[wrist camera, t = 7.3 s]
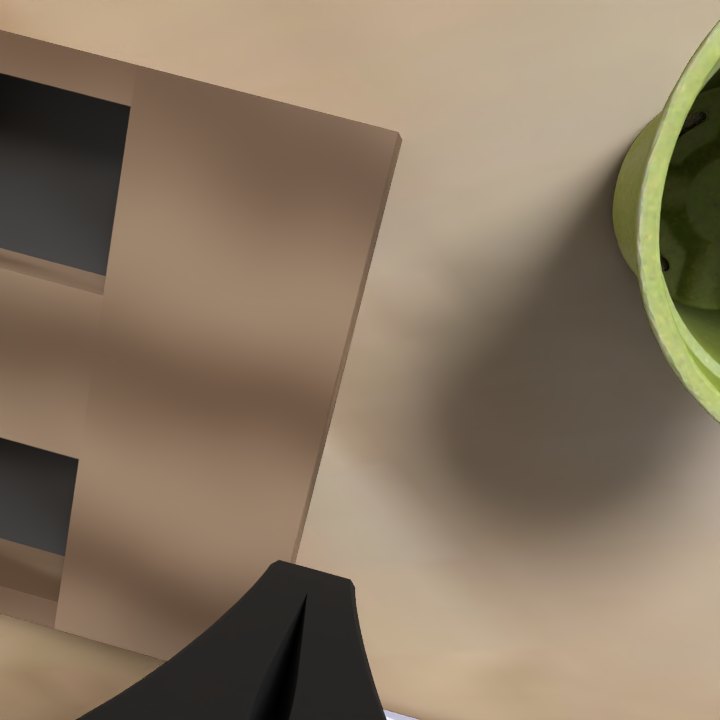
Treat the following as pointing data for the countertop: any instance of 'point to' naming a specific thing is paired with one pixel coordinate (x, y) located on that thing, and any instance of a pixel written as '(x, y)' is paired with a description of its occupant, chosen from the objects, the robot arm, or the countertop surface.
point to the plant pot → (679, 225)
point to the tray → (166, 335)
